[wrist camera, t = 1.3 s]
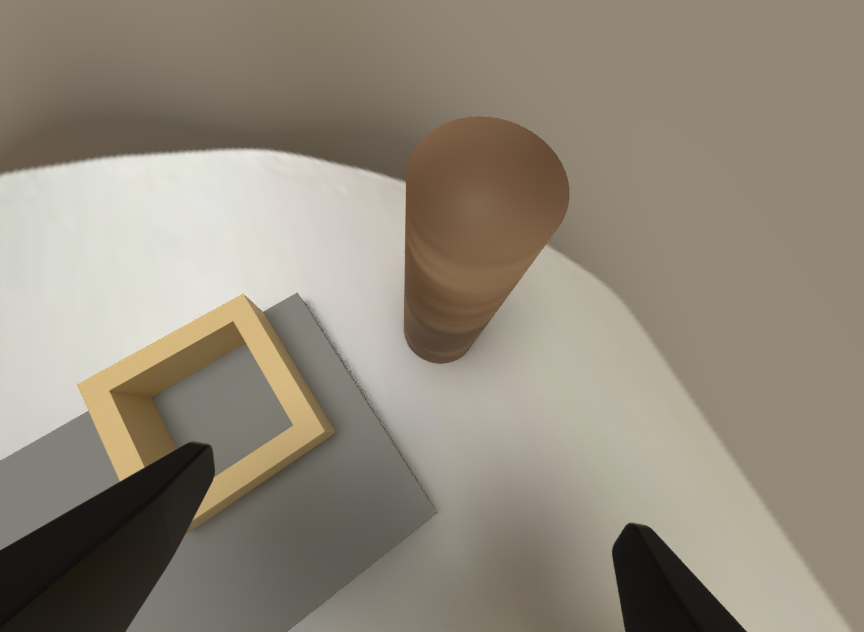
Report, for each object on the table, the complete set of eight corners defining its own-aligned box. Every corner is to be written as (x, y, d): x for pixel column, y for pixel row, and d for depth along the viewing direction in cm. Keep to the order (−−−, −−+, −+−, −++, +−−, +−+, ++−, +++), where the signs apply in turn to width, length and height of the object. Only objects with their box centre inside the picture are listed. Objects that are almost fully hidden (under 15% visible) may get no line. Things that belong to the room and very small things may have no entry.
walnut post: (489, 337, 23) (602, 204, 10) (430, 377, 22) (471, 288, 9) (447, 282, 24) (502, 94, 11) (390, 318, 23) (374, 159, 10)
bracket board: (434, 507, 20) (442, 526, 16) (36, 820, 16) (-102, 964, 11) (303, 301, 23) (281, 270, 19) (-63, 512, 19) (-202, 534, 14)
